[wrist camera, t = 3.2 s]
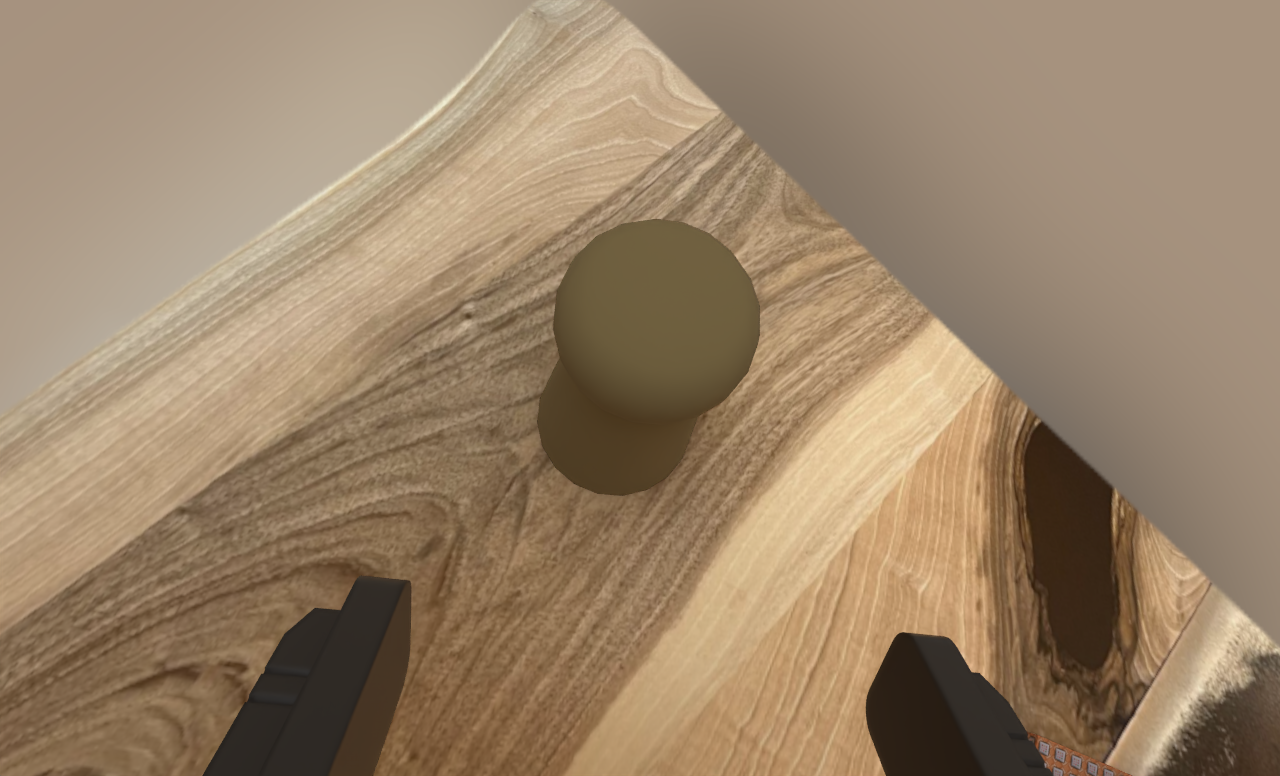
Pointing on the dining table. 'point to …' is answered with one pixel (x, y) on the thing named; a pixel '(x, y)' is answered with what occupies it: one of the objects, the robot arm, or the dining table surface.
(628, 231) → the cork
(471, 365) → the dining table surface
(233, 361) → the dining table surface
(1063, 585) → the dining table surface
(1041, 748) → the figurine
